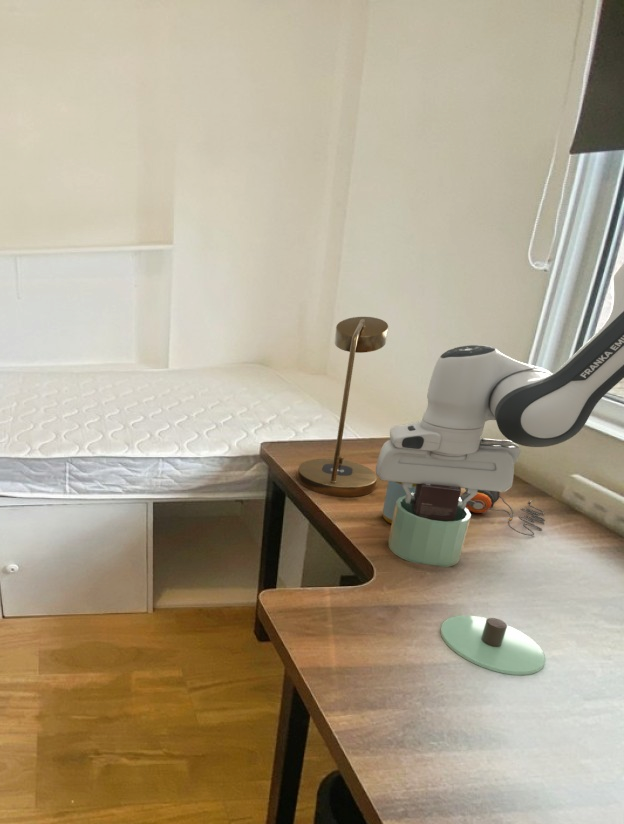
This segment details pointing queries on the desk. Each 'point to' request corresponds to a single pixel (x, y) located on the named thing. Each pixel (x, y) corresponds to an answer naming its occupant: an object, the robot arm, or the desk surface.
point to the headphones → (486, 501)
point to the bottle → (393, 498)
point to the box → (436, 502)
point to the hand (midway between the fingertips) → (433, 505)
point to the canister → (427, 536)
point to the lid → (493, 645)
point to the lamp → (337, 472)
